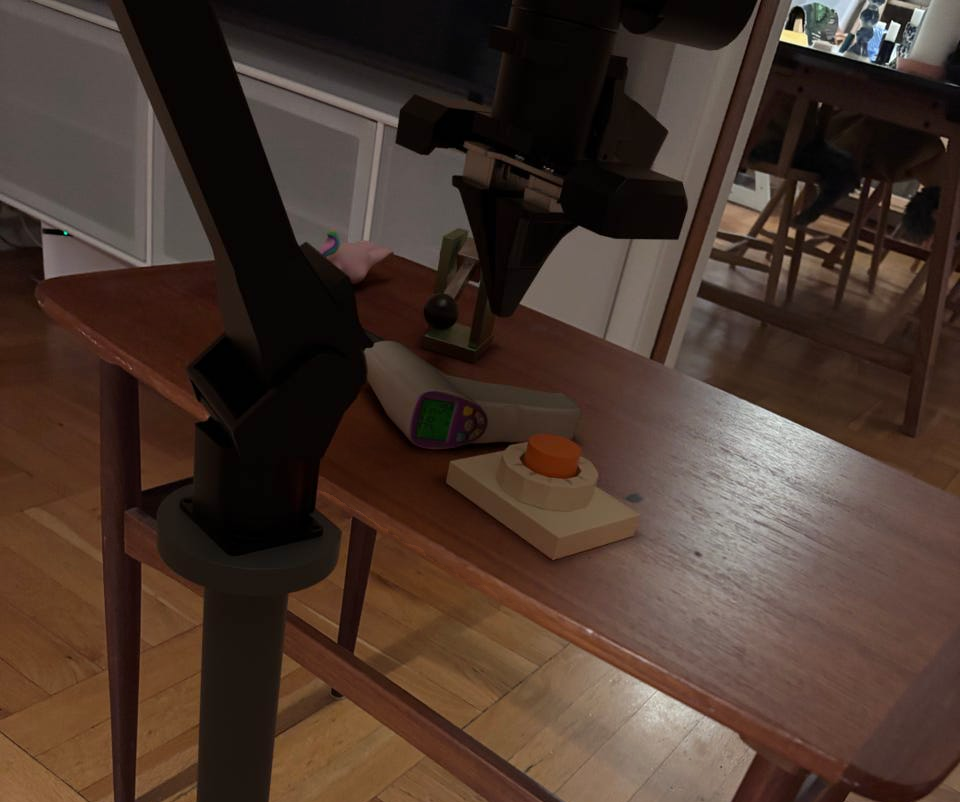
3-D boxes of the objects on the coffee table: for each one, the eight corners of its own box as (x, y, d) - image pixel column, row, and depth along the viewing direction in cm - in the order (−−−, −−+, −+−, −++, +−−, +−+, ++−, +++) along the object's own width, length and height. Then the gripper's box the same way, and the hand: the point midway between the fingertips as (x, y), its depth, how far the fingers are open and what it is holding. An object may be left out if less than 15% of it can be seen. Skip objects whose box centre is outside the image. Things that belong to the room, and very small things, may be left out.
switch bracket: (478, 364, 89) (499, 254, 83) (417, 346, 90) (434, 236, 84) (496, 347, 94) (518, 242, 88) (438, 330, 94) (455, 224, 89)
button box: (552, 560, 62) (565, 512, 60) (445, 482, 68) (454, 436, 66) (633, 536, 67) (648, 491, 65) (526, 465, 73) (537, 422, 71)
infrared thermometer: (576, 457, 78) (409, 452, 71) (505, 394, 86) (348, 384, 79) (594, 404, 76) (423, 393, 68) (519, 344, 84) (359, 329, 76)
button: (548, 485, 64) (554, 461, 63) (512, 461, 66) (517, 437, 65) (585, 476, 66) (592, 453, 65) (549, 453, 68) (555, 430, 67)
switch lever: (450, 341, 83) (452, 312, 80) (417, 331, 83) (418, 302, 81) (493, 270, 89) (495, 240, 86) (462, 261, 89) (464, 232, 87)
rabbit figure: (313, 318, 94) (409, 275, 104) (311, 257, 90) (412, 218, 100) (265, 297, 96) (364, 257, 106) (262, 237, 92) (365, 200, 102)
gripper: (794, 76, 51) (696, 365, 59) (552, 9, 61) (499, 264, 70) (658, 49, 44) (570, 379, 53) (411, -22, 54) (372, 265, 63)
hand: (501, 315), depth 60 cm, fingers closed
